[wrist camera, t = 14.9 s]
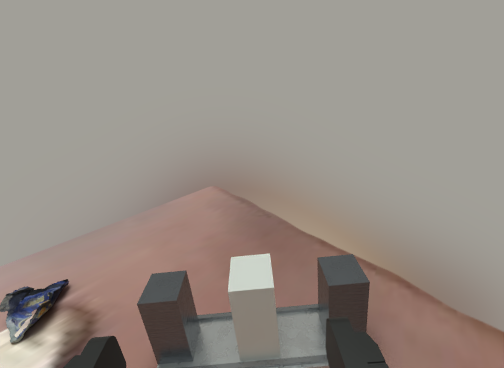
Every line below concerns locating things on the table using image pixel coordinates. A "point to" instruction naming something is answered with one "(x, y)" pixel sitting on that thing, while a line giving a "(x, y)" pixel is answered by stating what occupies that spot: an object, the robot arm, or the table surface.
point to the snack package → (28, 306)
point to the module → (254, 307)
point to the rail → (222, 327)
